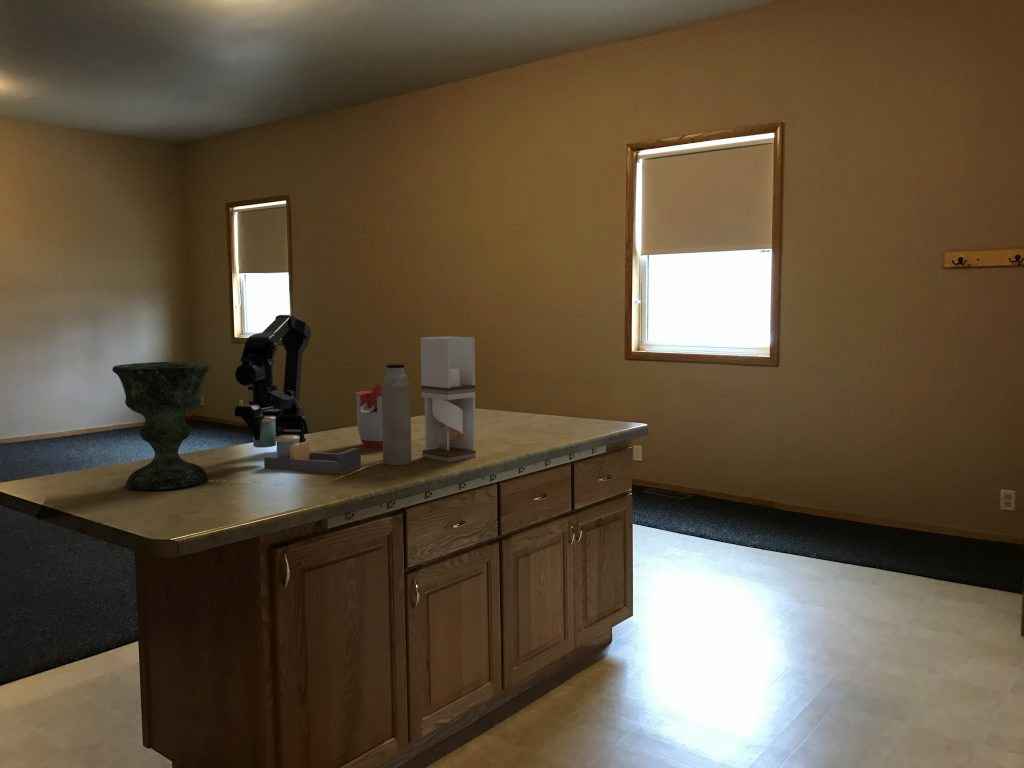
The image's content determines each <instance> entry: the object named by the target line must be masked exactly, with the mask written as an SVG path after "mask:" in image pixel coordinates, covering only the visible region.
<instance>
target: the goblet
mask: <svg viewBox="0 0 1024 768" xmlns="http://www.w3.org/2000/svg"><path fill="white" fill-rule="evenodd" d="M210 370H212V365H211V364H210V363H208V362H205V361H160V362H159V361H155V362H154V361H153V362H138V363H137V362H136V363H126V364H119V365H118V364H117V365H114V366H113V367H112V372H113V373H114V374H116V375H117V377H118V379H119V381H120V383H121V385H122V387H123V391H124V396H125V401H124V403H125V405H126V407H127V408H128V409H130V410H131V411H132V412H135V413H137V414H139V415H141V416H142V417H143V418H144V424H143V426H142V428H140V429H139V436H140V438H141V440H143V441H145V442H147V443H148V444H149V445H150V446H151V448H152V449H153V452H154V457H153V458H152V460H151V461H150V462H149V463H147V464H146V465H144V466H141V467H140V468H137V469H136V470H134V471H133V472H132V473H131V474H130V475H129V476H128V478H127V480H126V483H125V488H127V489H129V490H135V491H164V490H173V489H182V488H187V487H192V486H193V487H194V486H196V485H200V484H202V483H204V482H206V481H208V480H209V476H208V474H207V472H206V471H205V469H204V468H203V467H202V466H200V465H198V464H195V463H193V462H192V463H191V462H189V461H185V460H184V459H182V458H181V457H180V455H179V454H180V453H179V450H180V447H181V445H182V443H183V441H184V440H186V439H187V438H189V437H190V434H191V432H192V429H191V426H190V425H188V424H187V423H186V420H185V419H186V415H187V414H188V413H190V412H191V411H192V410H195V409H196V408H197V407H198V406H199V405H200V404H201V403H202V400H203V398H202V395H201V394H202V388H203V383H204V380H205V377H206V375H207V373H208V372H209V371H210Z"/></svg>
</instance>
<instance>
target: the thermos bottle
mask: <svg viewBox="0 0 1024 768" xmlns="http://www.w3.org/2000/svg"><path fill="white" fill-rule="evenodd" d="M386 368H387V369H386V375H384V376H383V383H382V430H383V448H382V463H383V465H386V464H387V466H404V465H408V464H411V463H412V420H411V419H412V417H411V416H412V415H411V414H412V413H411V410H412V409H411V408H412V407H411V383H409V382H408V381H409V377H408V375H406V374H405V364H403V363H391V364H389V363H388V364H386Z"/></svg>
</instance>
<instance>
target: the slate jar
mask: <svg viewBox="0 0 1024 768" xmlns="http://www.w3.org/2000/svg"><path fill="white" fill-rule="evenodd" d="M299 440H300V436H298V435H282V436H281V435H277V436H276V458H290V446H292V445H295V444H299Z"/></svg>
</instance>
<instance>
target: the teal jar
mask: <svg viewBox="0 0 1024 768" xmlns="http://www.w3.org/2000/svg"><path fill="white" fill-rule="evenodd" d="M261 415H262V416H265V417H264V418H263V419H262V421H261V429H260V440H255V438H254V437H253V436H252V437H253V438H252V441H253V442H252V443H253V448H259V449H260V448H262V449H263V448H273V447H277V442H276V437H277V436H276V435H277V434H276V426H275V420H276V416H273V415H263V414H261Z"/></svg>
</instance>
